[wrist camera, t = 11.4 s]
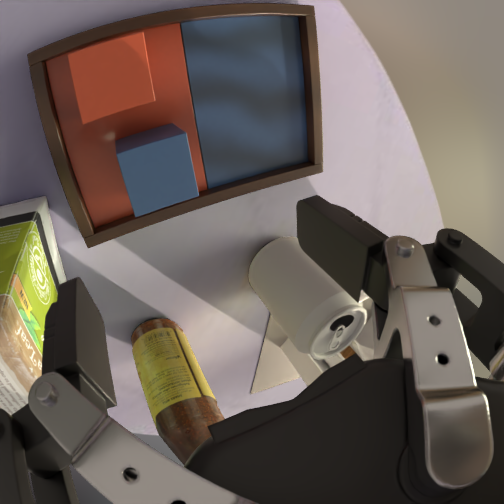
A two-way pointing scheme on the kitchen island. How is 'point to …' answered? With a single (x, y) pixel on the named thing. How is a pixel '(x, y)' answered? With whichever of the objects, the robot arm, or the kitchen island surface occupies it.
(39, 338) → the tea box
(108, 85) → the terracotta block
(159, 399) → the sauce bottle
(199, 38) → the sorting tray
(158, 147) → the slate-blue block
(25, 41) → the kitchen island surface
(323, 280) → the can
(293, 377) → the architectural model
